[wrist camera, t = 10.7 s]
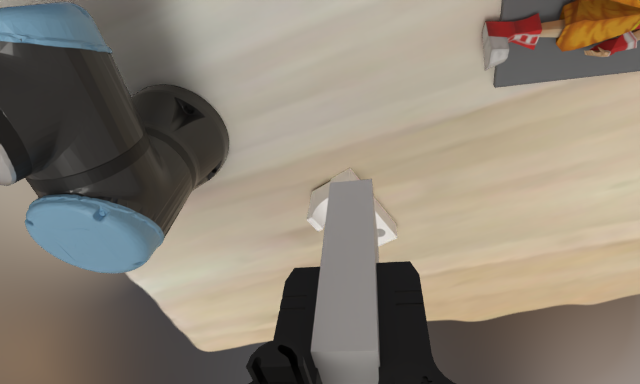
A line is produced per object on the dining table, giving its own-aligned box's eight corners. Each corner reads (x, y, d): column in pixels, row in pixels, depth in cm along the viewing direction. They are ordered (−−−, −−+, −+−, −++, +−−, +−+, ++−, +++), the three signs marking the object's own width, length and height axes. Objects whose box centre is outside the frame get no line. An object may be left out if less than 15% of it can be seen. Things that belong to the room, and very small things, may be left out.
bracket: (312, 188, 59) (306, 219, 53) (350, 166, 56) (348, 197, 50) (359, 239, 65) (359, 274, 59) (396, 222, 62) (399, 256, 56)
